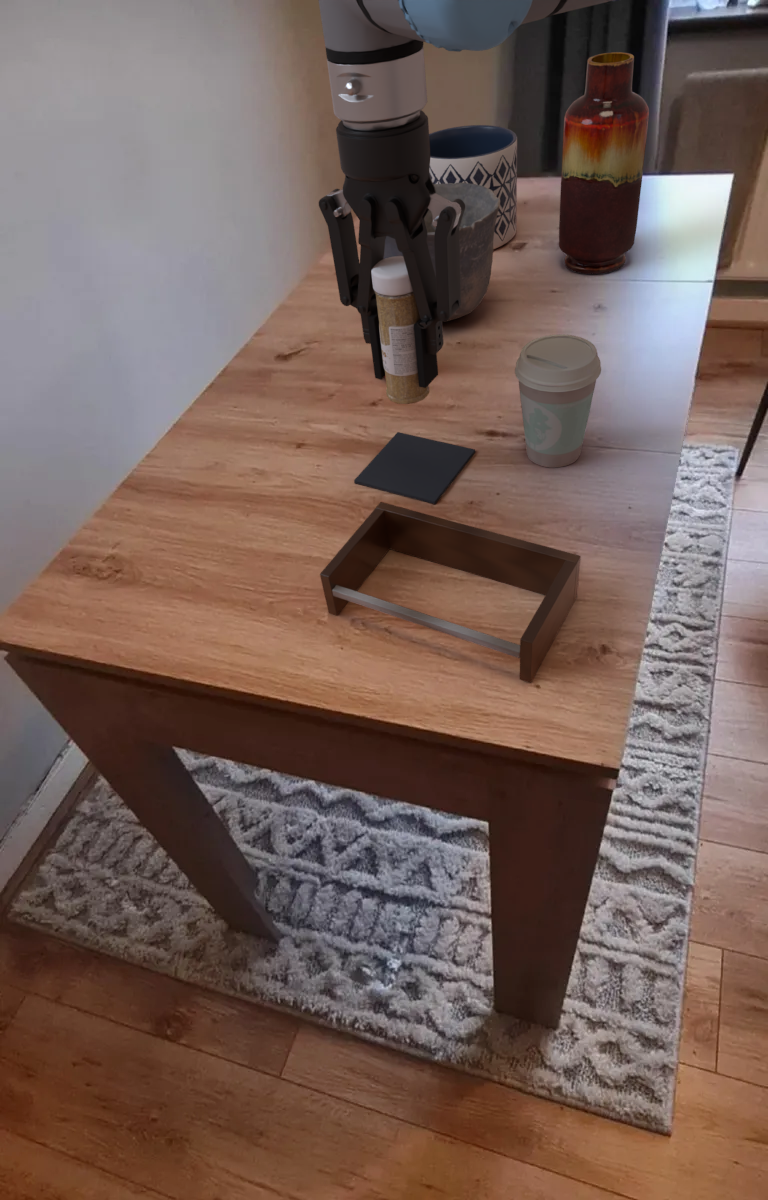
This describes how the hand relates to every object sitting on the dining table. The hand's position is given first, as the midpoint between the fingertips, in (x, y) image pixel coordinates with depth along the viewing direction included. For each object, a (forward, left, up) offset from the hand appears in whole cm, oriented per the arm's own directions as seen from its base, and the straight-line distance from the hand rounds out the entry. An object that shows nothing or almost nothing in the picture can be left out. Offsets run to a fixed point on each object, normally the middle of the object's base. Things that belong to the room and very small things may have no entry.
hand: (406, 375), depth 80 cm
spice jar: (0, 0, -2) cm, 2 cm away
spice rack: (-13, +18, -11) cm, 25 cm away
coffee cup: (-13, -8, -11) cm, 19 cm away
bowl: (+14, -33, -11) cm, 38 cm away
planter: (+22, -60, -11) cm, 65 cm away
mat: (0, 0, -11) cm, 11 cm away
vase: (-1, -56, -11) cm, 57 cm away
